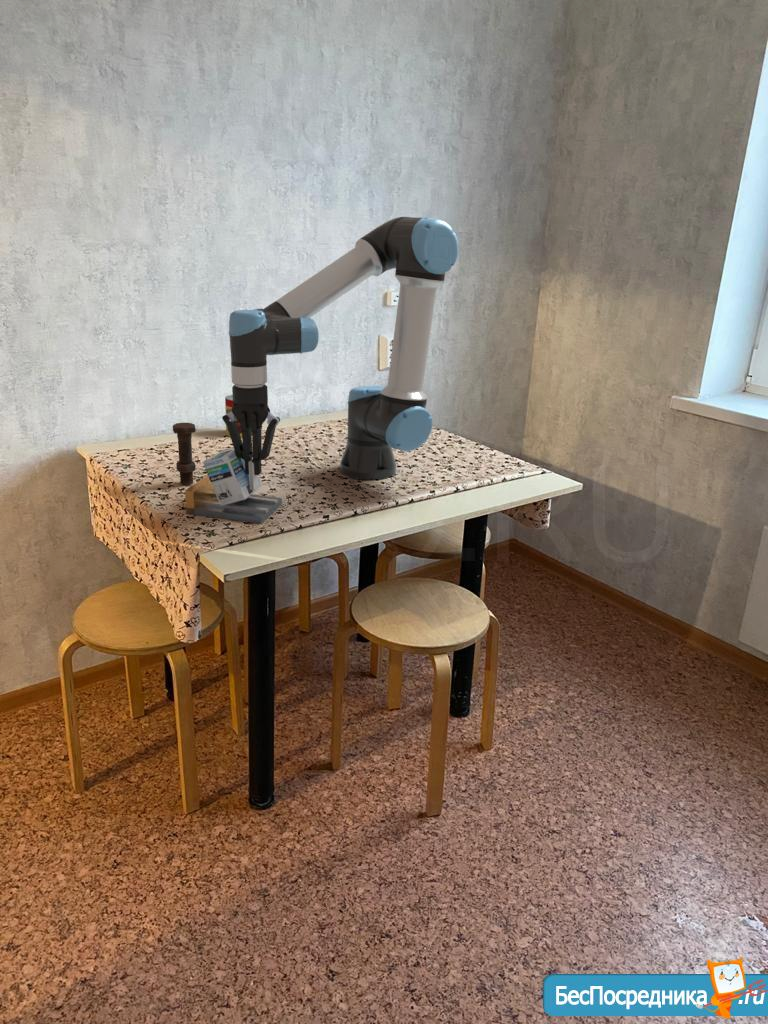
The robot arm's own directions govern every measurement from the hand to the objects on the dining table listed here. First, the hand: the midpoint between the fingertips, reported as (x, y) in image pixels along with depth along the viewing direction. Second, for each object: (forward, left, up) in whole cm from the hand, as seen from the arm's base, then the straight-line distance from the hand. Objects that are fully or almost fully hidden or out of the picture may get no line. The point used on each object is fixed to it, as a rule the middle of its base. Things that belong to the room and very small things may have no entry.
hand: (253, 487), depth 174 cm
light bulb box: (+3, 0, -3) cm, 4 cm away
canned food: (+28, -57, -6) cm, 64 cm away
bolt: (+23, -12, -6) cm, 26 cm away
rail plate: (+5, 0, -6) cm, 7 cm away
